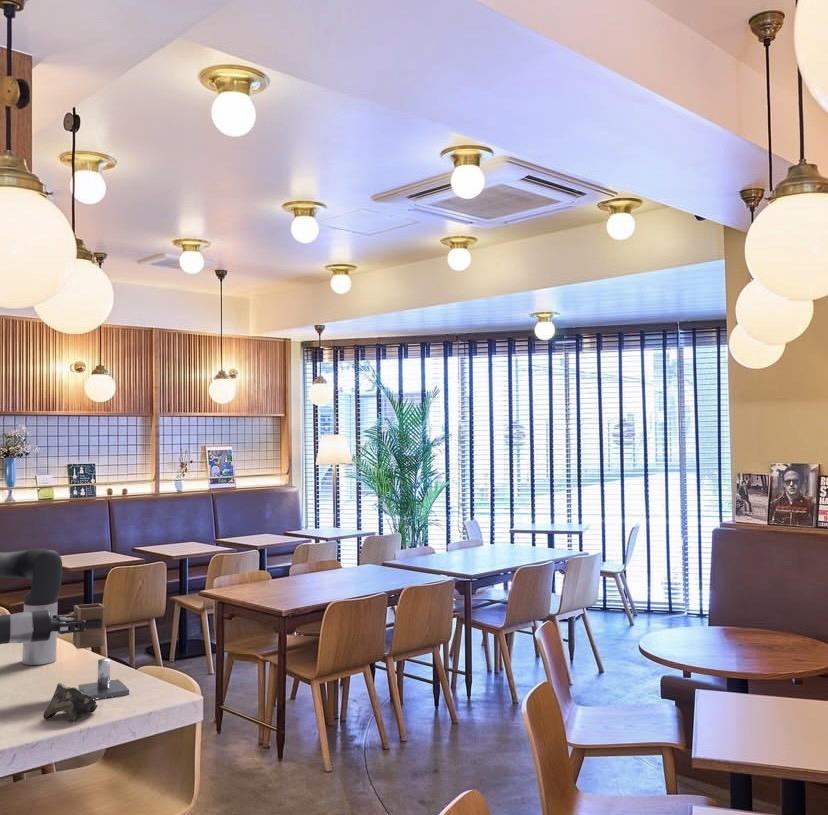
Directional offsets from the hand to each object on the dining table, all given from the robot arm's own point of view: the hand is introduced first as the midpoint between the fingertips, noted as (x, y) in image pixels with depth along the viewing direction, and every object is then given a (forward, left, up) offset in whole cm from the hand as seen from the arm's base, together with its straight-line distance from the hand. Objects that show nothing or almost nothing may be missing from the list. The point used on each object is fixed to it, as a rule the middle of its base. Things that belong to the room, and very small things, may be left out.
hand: (98, 620), depth 215 cm
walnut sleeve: (0, -2, -6) cm, 6 cm away
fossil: (+20, -9, -18) cm, 29 cm away
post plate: (+3, +1, -18) cm, 18 cm away
